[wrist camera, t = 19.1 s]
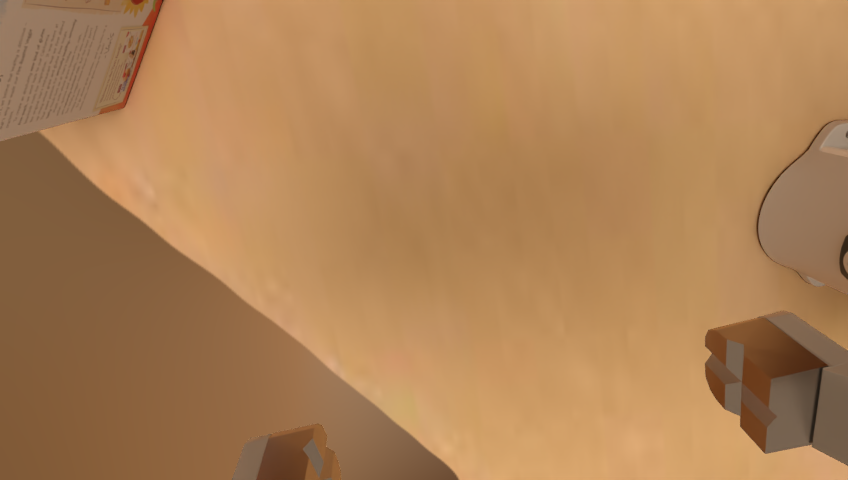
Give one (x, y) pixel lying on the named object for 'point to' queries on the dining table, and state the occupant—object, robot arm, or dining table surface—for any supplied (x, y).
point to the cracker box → (68, 59)
